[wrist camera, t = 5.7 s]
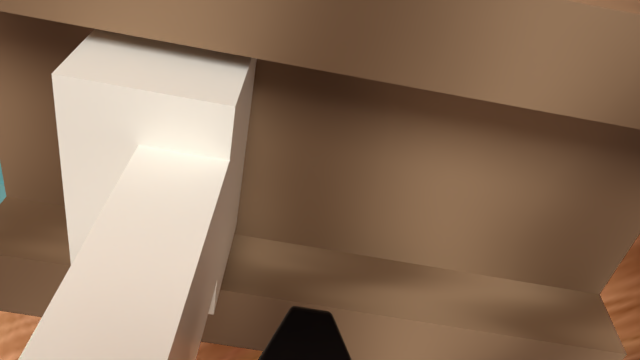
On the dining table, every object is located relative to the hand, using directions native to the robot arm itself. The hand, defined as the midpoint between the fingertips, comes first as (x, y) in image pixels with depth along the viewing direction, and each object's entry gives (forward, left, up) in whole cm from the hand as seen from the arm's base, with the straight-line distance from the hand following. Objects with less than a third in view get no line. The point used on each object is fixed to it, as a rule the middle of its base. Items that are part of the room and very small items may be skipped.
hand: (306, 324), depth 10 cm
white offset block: (+3, 0, -5) cm, 6 cm away
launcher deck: (0, 0, -10) cm, 10 cm away
